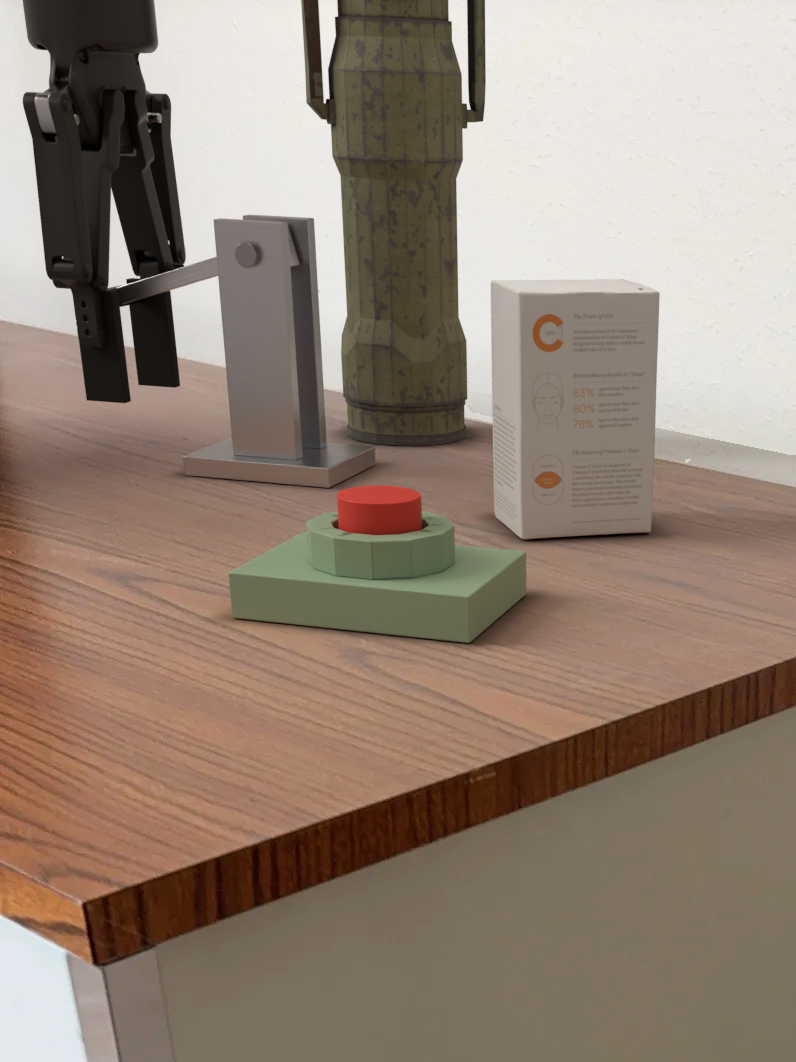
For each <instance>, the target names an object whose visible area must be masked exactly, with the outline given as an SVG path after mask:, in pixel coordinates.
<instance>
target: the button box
mask: <svg viewBox="0 0 796 1062" xmlns="http://www.w3.org/2000/svg"><path fill="white" fill-rule="evenodd" d="M305 527H306V530H304V531H302V532H300V533H298V534H296V535H294V536H293V537H290V538H289V539H287V540H285V541H284V542H282V543H280V544H278V545H276V546H274V547H272V548H271V549H269V550H267V551H265V552H263V553H260V555H257V556H256V557H254V558H252V559H250V560H249V561H246V562H244V563H243V564H241V565H239V566H237V567H236V568H234V569H232V570H230V571H228V573H227V575H228V576H227V577H228V585H229V586H228V587H229V599H230V609H231V617H232V618H233V619H240V620H247V621H248V620H250V621H259V622H267V623H268V622H269V623H276V624H277V623H278V624H285V625H286V624H287V625H296V626H306V627H314V628H315V627H316V628H323V629H334V630H344V631H352V632H362V633H370V634H371V633H372V634H379V635H380V634H381V635H390V636H399V637H408V638H416V639H417V638H418V639H427V640H428V639H429V640H435V641H446V642H454V643H455V642H457V643H465V644H470V643H472V642H473V641H474V640H475V639H476V638H477V637H479V636H480V635H481V634H482V633H483V632H485V630H487V629H488V628H489V627H491V625H493V624H494V623H495V622H496V621H497V620H498V619H499V618H501V616H503V615H504V614H505V613H506V612H508V611H509V610H510V609H511V608H512V607H513V606H515V605H516V604H517V603H518V602H519V601H520V600H521V599H522V598H524V597H525V596H526V595H527V551H525V550H516V549H504V548H494V547H483V546H474V545H462V544H455V543H456V542H455V525H454V524H453V523H452V521H451V520H450V519H449V517H448V516H444V515H440V514H436V513H434V512H430V511H425V510H422V530H420V531H415V532H409V533H404V534H397V535H368V534H357V533H349V532H346V531H342V530H339V527H338V510H333V511H329V512H323V513H320V514H318V515H316V516H315V517H313V518H311V519H309V520H307V521H306V524H305Z"/></svg>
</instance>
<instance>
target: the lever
mask: <svg viewBox="0 0 796 1062" xmlns="http://www.w3.org/2000/svg"><path fill="white" fill-rule="evenodd" d="M288 239H289V255H290V268H291V267H294V266H297V265H299V260H298V257H297V254H296V251H295V247H294V244H293V241H292V238H291V234H290V231H289V228H288ZM216 277H218V267H217V256H214V257H212V258H208V259H205V260H202V261H198V262H195V263H192V264H187V265H184V267H181V268H178V269H175V270H172V271H168V272H165V273H162V274H159V275H156V276H152V277H149V278H146V279H143V280H139V281H136V282H133V283H130V284H127V283H126V284H121V285H116V286H111V287H108V288H107V290H118V297H119V305H120V308H122V307H127V306H129V305H132V304H137V303H141V302H145V301H147V300H148V298H149V297H150V296H154V295H157V294H160V293H163V292H167V291H170V292H171V291H173V290H176V289H181V288H183V287H187V286H190V285H193V284H196V283H199V282H202V281H206V280H209V279H212V278H216Z"/></svg>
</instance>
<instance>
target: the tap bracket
mask: <svg viewBox="0 0 796 1062" xmlns="http://www.w3.org/2000/svg"><path fill="white" fill-rule="evenodd" d="M288 228H289V231H290V234H291V238H292V241H293V244H294V247H295V251H296V254H297V257H298V260H299V265H297V266H294V267H291V268H290V255H289V239H288ZM213 230H214V243H215V244H214V245H215V254H216V257H217V267H218V276H217V277H218V279H217V280H218V287H219V288H218V290H219V301H220V303H219V304H220V312H221V313H220V314H221V325H222V337H223V349H224V359H225V371H226V385H227V396H228V406H229V420H230V432H231V437H228V438H226V439H224V440H221V441H218V442H215V443H213V444H210V445H208V446H205V447H202V448H200V449H197V450H196V451H195V450H194V451H193V452H190V453H187V454H186V455H183V456H182V461H183V471H184V476H190V477H201V478H212V479H213V478H214V479H224V480H236V481H247V482H258V483H271V484H280V485H281V484H282V485H291V486H292V485H293V486H303V487H312V488H313V487H315V488H326V489H329V488H331V487H334V486H336V485H338V484H339V483H342V482H343V481H346V480H348V479H350V478H352V477H353V476H355V475H357V474H359V473H361V472H364V471H366V470H367V469H369V468H371V467H374V466H376V464H377V463H376V446H375V445H365V444H355V443H354V444H353V443H343V442H331V441H330V442H328V441H327V439H328V438H327V423H326V422H327V421H326V408H325V405H326V404H325V390H324V388H325V387H324V371H323V370H324V369H323V354H322V337H321V335H322V334H321V319H320V318H321V317H320V316H321V315H320V301H319V284H318V283H319V282H318V281H319V280H318V266H317V250H316V249H317V246H316V231H315V218H314V217H300V216H299V217H298V216H282V215H264V214H263V215H261V214H245V215H242V219H238V218H237V219H236V218H222V217H221V218H213Z"/></svg>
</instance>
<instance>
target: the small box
mask: <svg viewBox="0 0 796 1062" xmlns="http://www.w3.org/2000/svg"><path fill="white" fill-rule="evenodd" d="M659 322H660V292H659V291H658V290H657V289H654V288H653V287H649V286H647V285H643V284H641V283H638V282H634V281H631V280H627V279H623V278H615V279H613V278H612V279H610V278H606V279H605V278H603V279H602V278H601V279H599V278H598V279H597V278H596V279H498V280H497V279H494V280H493V279H492V280H491V281H490V332H491V333H490V334H491V336H490V337H491V339H490V340H491V403H492V404H491V405H492V406H491V407H492V408H491V409H492V410H491V411H492V412H491V413H492V414H491V415H492V463H493V466H492V467H493V513H494V516H495V518H496V519H497V520H499V521H500V522H501V523H502V524H503V525H504V526H506V527H507V528H508V529H509V530H510V531H512V532H513V533H514V534H515V535H516V536H517V537H519V538H520V539H521V540H533V539H535V540H536V539H550V538H565V537H580V536H581V537H582V536H598V535H618V534H619V535H620V534H639V533H641V534H642V533H651V532H652V521H653V494H654V492H653V491H654V472H655V471H654V470H655V447H656V445H655V443H656V409H657V405H656V404H657V378H658V352H659V351H658V350H659V349H658V348H659V327H660V326H659V324H660V323H659Z"/></svg>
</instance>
